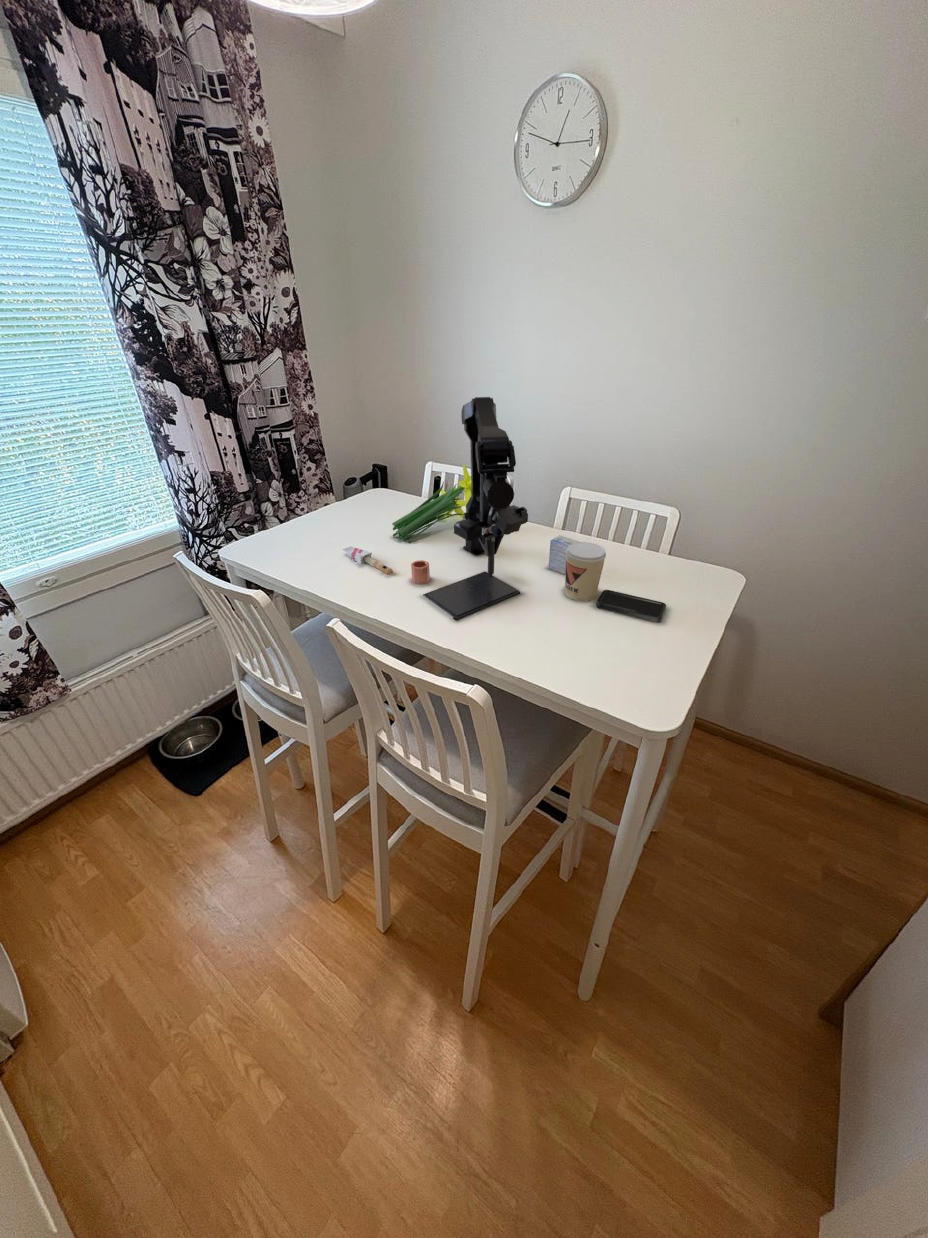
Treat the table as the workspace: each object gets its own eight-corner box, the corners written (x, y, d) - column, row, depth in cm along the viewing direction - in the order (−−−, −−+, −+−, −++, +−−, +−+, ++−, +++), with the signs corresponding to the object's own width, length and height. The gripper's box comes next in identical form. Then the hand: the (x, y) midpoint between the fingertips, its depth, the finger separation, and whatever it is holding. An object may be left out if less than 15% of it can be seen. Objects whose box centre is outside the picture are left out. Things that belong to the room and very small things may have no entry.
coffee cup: (554, 588, 125) (558, 545, 118) (584, 581, 128) (591, 538, 121) (575, 606, 117) (581, 561, 111) (607, 597, 121) (614, 553, 114)
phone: (604, 588, 122) (666, 603, 116) (603, 592, 122) (665, 607, 116) (595, 603, 116) (661, 619, 110) (594, 607, 117) (660, 623, 111)
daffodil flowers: (381, 532, 158) (461, 482, 171) (409, 564, 156) (489, 511, 168) (381, 500, 143) (469, 448, 156) (412, 536, 140) (500, 480, 153)
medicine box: (581, 572, 132) (585, 542, 127) (572, 578, 129) (575, 547, 125) (556, 563, 137) (559, 534, 132) (547, 568, 134) (550, 539, 129)
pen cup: (423, 575, 131) (422, 558, 128) (433, 582, 128) (432, 564, 125) (409, 580, 129) (407, 563, 126) (418, 587, 126) (417, 570, 123)
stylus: (491, 574, 124) (492, 536, 119) (495, 576, 123) (496, 538, 118) (486, 576, 124) (486, 537, 118) (490, 578, 123) (491, 539, 117)
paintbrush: (351, 541, 143) (395, 565, 131) (352, 549, 144) (395, 574, 133) (340, 545, 140) (383, 570, 129) (341, 553, 142) (384, 579, 131)
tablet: (485, 573, 132) (485, 570, 131) (520, 593, 123) (520, 590, 122) (423, 596, 122) (422, 593, 121) (456, 620, 112) (456, 617, 112)
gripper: (483, 512, 102) (482, 578, 110) (546, 493, 111) (541, 555, 120) (451, 497, 109) (453, 561, 118) (513, 481, 118) (510, 541, 127)
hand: (491, 554), depth 120 cm, fingers closed on stylus, 1 cm apart
